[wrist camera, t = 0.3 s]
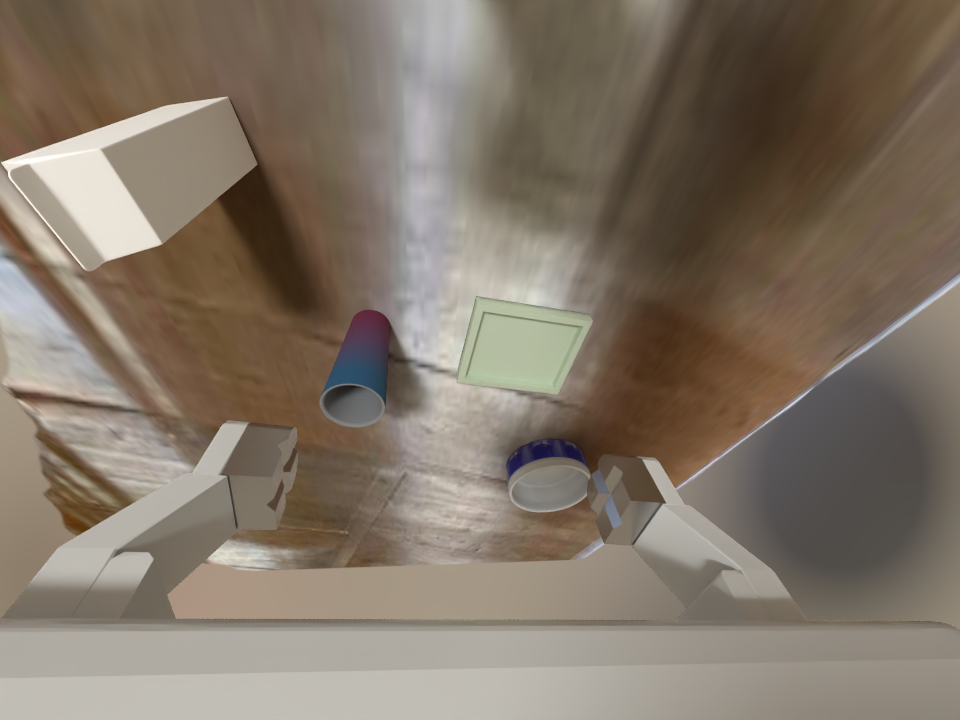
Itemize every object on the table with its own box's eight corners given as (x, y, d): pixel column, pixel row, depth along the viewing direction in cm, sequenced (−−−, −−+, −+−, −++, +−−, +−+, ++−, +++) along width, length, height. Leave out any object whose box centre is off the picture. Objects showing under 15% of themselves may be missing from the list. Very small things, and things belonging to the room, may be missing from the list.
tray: (476, 296, 54) (477, 303, 52) (589, 314, 57) (592, 321, 55) (456, 374, 62) (456, 382, 61) (555, 386, 65) (557, 394, 64)
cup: (392, 349, 58) (380, 431, 47) (343, 340, 57) (318, 423, 45) (400, 309, 54) (389, 389, 43) (347, 299, 53) (321, 378, 41)
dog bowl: (496, 448, 75) (499, 477, 70) (579, 429, 73) (588, 457, 69) (514, 491, 85) (518, 519, 80) (588, 475, 83) (596, 503, 78)
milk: (201, 172, 42) (40, 281, 25) (165, 103, 38) (-54, 179, 21) (259, 164, 42) (136, 268, 25) (229, 94, 38) (59, 163, 21)
